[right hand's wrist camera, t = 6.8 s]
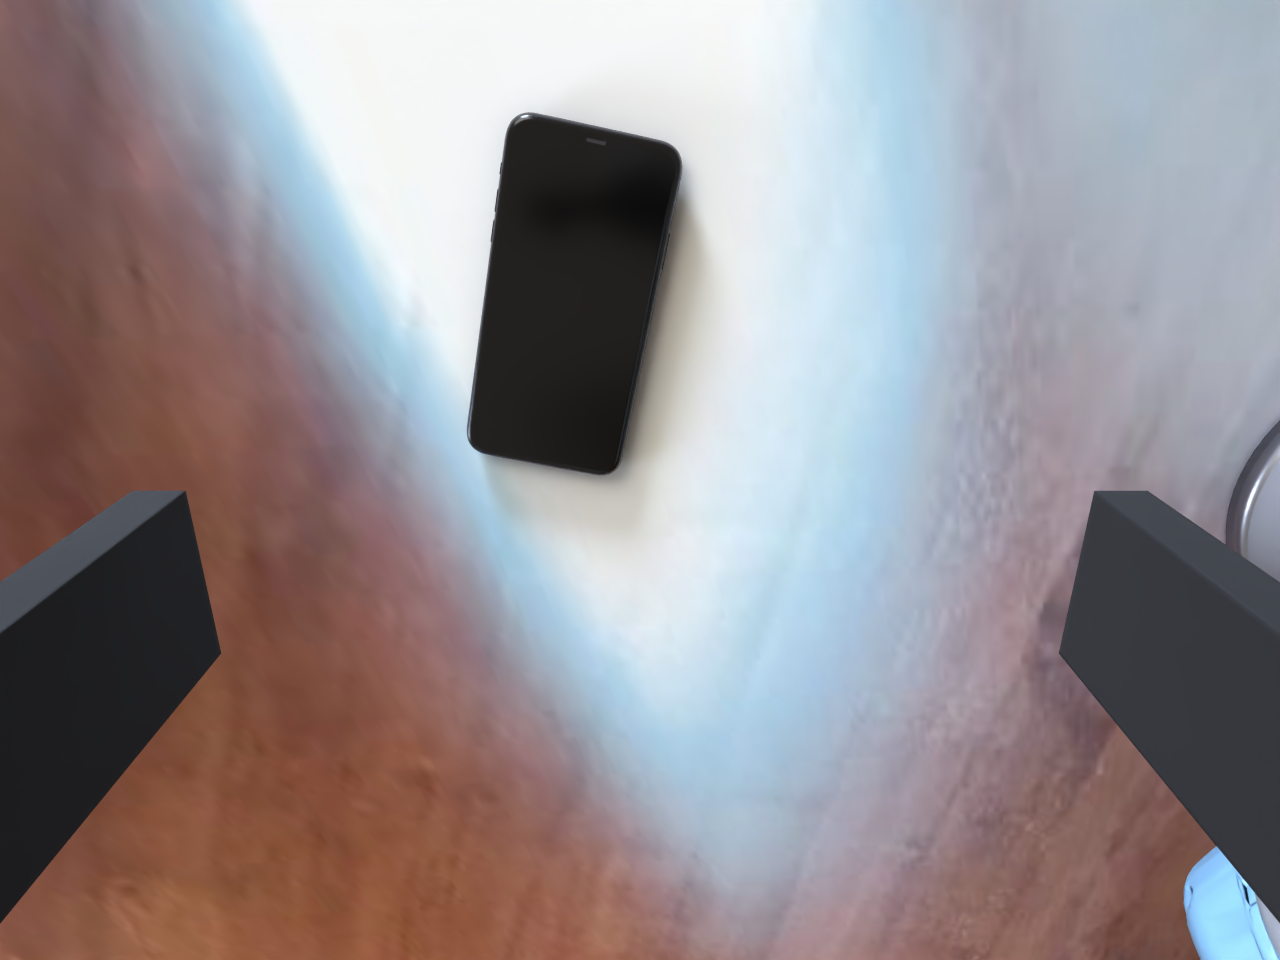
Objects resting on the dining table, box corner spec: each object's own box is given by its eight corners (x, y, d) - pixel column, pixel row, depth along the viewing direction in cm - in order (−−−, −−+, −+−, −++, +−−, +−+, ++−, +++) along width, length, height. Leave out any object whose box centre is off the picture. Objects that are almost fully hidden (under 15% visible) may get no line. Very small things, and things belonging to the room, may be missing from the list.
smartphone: (618, 474, 43) (687, 146, 37) (618, 481, 42) (688, 146, 36) (465, 446, 43) (510, 107, 37) (462, 452, 42) (507, 106, 36)
